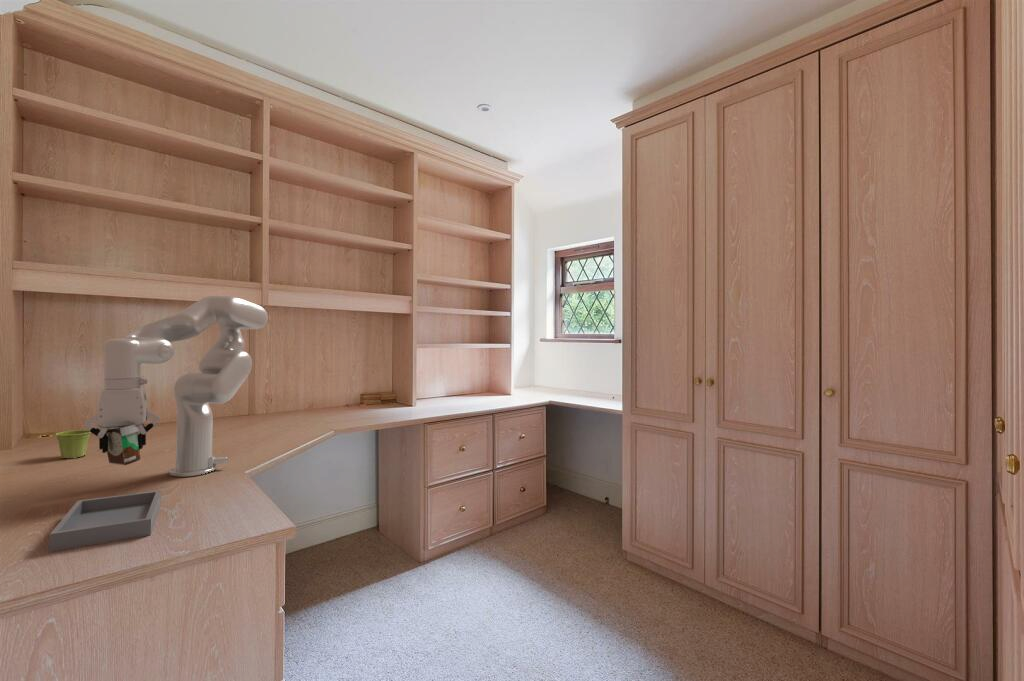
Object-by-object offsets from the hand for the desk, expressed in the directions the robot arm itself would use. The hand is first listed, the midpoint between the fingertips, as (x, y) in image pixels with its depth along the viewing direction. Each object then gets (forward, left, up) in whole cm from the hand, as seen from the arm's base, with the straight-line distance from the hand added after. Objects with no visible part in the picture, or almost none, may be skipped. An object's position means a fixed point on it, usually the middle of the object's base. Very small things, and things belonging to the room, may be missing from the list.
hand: (123, 449), depth 124 cm
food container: (-2, 0, -4) cm, 4 cm away
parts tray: (-1, +24, -12) cm, 27 cm away
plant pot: (+21, -56, -13) cm, 61 cm away
